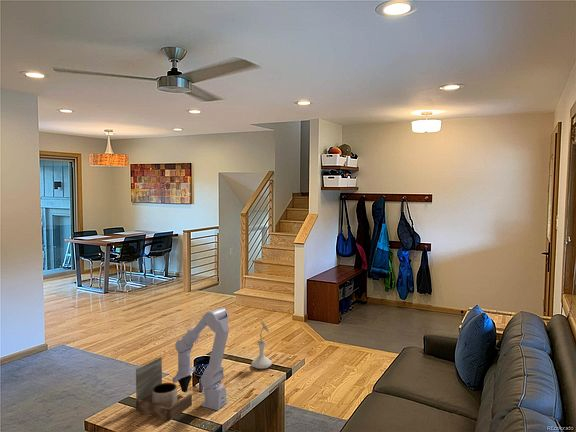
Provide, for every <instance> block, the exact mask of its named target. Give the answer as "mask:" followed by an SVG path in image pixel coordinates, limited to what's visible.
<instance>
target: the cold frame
mask: <svg viewBox="0 0 576 432" xmlns="http://www.w3.org/2000/svg"><path fill="white" fill-rule="evenodd" d="M162 359H163V357H159V358H156V359H154V360H152V361H150V362H148V363H146V364H143V365H142V366H140V367H138V368H136V369H135V385H136V386H135V393H136V395H135V399H136V400H135V402H136V403H135V404H136V405H135V406H136V407H135V408H136V409H135V410H136V412H137V413H140V414H143V415H146V416H147V415H148V416H149V417H150V416H151V417H153V418H156V419H161V420H163V421H167V422H170V421H172V420H173V419H174V418H176V417H177V416H178V415H180V414H181V413H182V412H184V411H186V410H187V409H189V408H190V407H192V406H193V394H191V393H189V394H187V395H186V396H184V397H182V398H181V399H180V400H177V403H175V404H174V405H172V406H171V407H169V408H167V407H164V406H160V405H157V404H153V403H152V388H153V387H154V386H156V385H158V384H161V383H163V380H162V379H163V378H162V377H163V375H162V374H163V367H162V365H163V363H162V362H163V361H162Z"/></svg>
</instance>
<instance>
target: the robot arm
mask: <svg viewBox="0 0 576 432" xmlns="http://www.w3.org/2000/svg"><path fill="white" fill-rule="evenodd" d="M229 317H230V315H229V313H228V311H227V310H226V308H224V307H218V308H217V309H214V310H211V311H207V312H206V313H205V314H203V315H202V317H201V319H200V320H199V321H198V322H197V324H196V325H195V326H194V327H191V328H189V329H187V331H186V333H185V334H184V335H182V336H181V339H177V340H176V342H175V349H176V351H177V365H178V366H177V371H176V374H175V376H173V377H172V383H173V384H177V383H179V386H180V389H181V392H183V393H186V392H188V389H189V384H190V382H191V380H192V379H193V376H192V375H191V374H192V373H195V372H196V367H195V366H191V352H192V348H193V346H194V343H196V341H197V340H198V339H200V336H201V332H202V331H204V329H205V328H206V327H208V328H209V329H210V330H211V331H212V332H213V333H215V335H214V340H213V344H212V348H211V352H210V358H209V363H208V365H207V367H205V369H204V370H203V374H202V375H201V377H200V383H201V385H202V386H203V388H204V393H203V394H204V398H203V399H204V401H203V402H202V403H201V404H199V405H200V407H204V408H208V409H211V410H215V411H219V410H220V409H221V408H222V407H224V406H225V405H226V404H227V403H228V402H227V389H226V387H224V386H223V385H221V384H222V381H223V380H224V377H225V373H224V369H225V367H224V366H223V365H222V363H223V362H222V361H223V358H224V354H225V349H226V344H227V341H228V337H229V332H230V331H229V330H230V329H229Z"/></svg>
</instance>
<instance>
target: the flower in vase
mask: <svg viewBox="0 0 576 432" xmlns="http://www.w3.org/2000/svg"><path fill="white" fill-rule="evenodd" d="M260 324H261V326H262V328H261V332H260V333H259V336H260V337H259V338H260V340H258V341H257V343H256V344H257V345H258V347H259V354H258V355H257V356H256V357H255V358H254V359H253V360H252V361H251V364H250V365H251V366H252V367H253V368H256V369H260V370H262V369H267V368H270V367H271V366H272V364H273V363H272V361H271V359H270V358H268V357H267V356H265V352H264V351H265V345H266V344H267V341H265V340H263V339H265V337H264V336H263V337H262V332H263V330H265V331H266V333H268V334H269V333H270V331H269V328H268V326H267V325H265V322H264V321H263V320H261V321H260Z"/></svg>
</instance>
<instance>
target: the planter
mask: <svg viewBox="0 0 576 432" xmlns="http://www.w3.org/2000/svg"><path fill="white" fill-rule="evenodd" d="M177 402H178V386H177V385H176V383H174V382H162V383H161V384H158V385H156V386H154V387H153V388H152V403H153V404H157V405H160V406H164V407H167V408H169V407H171V406H172V405H174V404H175V403H177Z"/></svg>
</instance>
